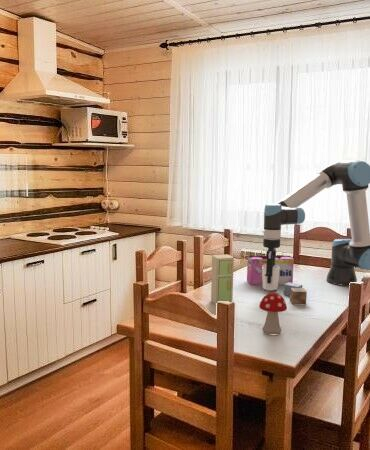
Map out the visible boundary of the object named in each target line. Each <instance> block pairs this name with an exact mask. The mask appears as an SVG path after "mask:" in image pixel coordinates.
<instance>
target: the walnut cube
mask: <svg viewBox="0 0 370 450" xmlns="http://www.w3.org/2000/svg"><path fill="white" fill-rule="evenodd" d="M307 295H308V292H307V290H306V289H305V288H304V287H302V288H290V295H289V301H290V303H291V305H295V304H306V305H307Z"/></svg>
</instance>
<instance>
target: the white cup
mask: <svg viewBox="0 0 370 450" xmlns="http://www.w3.org/2000/svg"><path fill="white" fill-rule="evenodd" d="M266 266H267V265H263V266H262V282H263V285H262V289H263V290H264V289H266V276H265V274H266ZM279 270H280V267H279V266H276V265H274V267H273V271H272V276H273V280H272V290H276V291H277V290H278V287H279V284H278V280H279Z"/></svg>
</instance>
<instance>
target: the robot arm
mask: <svg viewBox="0 0 370 450" xmlns="http://www.w3.org/2000/svg"><path fill="white" fill-rule="evenodd" d="M336 185H341V186H342V191H343V192H344V193H345V194H346V199H347V209H348V219H349V225H350V226H349V228H350V236H351V238H335V239H334V240H333V241H332V245H331V260H330V261H331V263H330V268H329V270H328V273H327V275H326V282H327V283H329V282H331V283H330V284H332V283H335V284H334V285H337V284H342V285H341V286H347V285H349V283H350V282H357V281H358V278H357V275H356V271H355V268H358V269H360V270H366V271H370V223H369V213H368V203H367V194H366V191H367V190H368V189H369V185H370V164H369V163H367V162H365V161H362V160H337V161H334V162H332V163H331V164H329V165H327V166H325V167H323V168H322V169H321V170H319V171H317V173H316V175H315V176H314V177H312V178H311V179H310V180H308V181H307V182H305V183H303V184H302V185H301V186H300V187H297V188H296V189H295V190H294V191H292V192H291V193H289V194H288V195H286V196H284V197H283V198H282V199H281V200H278V202H276V203H267V204H266V205H264V213H263V215H264V216H263V230H262V233H263V239H262V240H263V243H262V245H263V247H264V248H267V250H266V256H267V266H266V274H265V276H266V290H272V280H273V276H272V271H273V267H274V265H275V258H276V256H277V249H279V248H281V233H282V232H281V231H282V226H284V225H286V226H287V225H300V224H302V223H304V222H305V219H306V212H305V210H304V209H303V208H302V207H300V206H301V205H303V204H304V203H306V202H307V201H309V200H310V199H312V198H314V197H315V196H316V195H317V194H319V193H320V192H323V190H325V189H330V188H331V187H333V186H336ZM357 283H358V282H357ZM349 286H350V285H349Z"/></svg>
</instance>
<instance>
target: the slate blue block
mask: <svg viewBox="0 0 370 450" xmlns="http://www.w3.org/2000/svg"><path fill="white" fill-rule="evenodd" d="M290 288H303V284H300V283H296V282H293V283H291V282H288V283H286V284H283V295H286V296H290Z"/></svg>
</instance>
